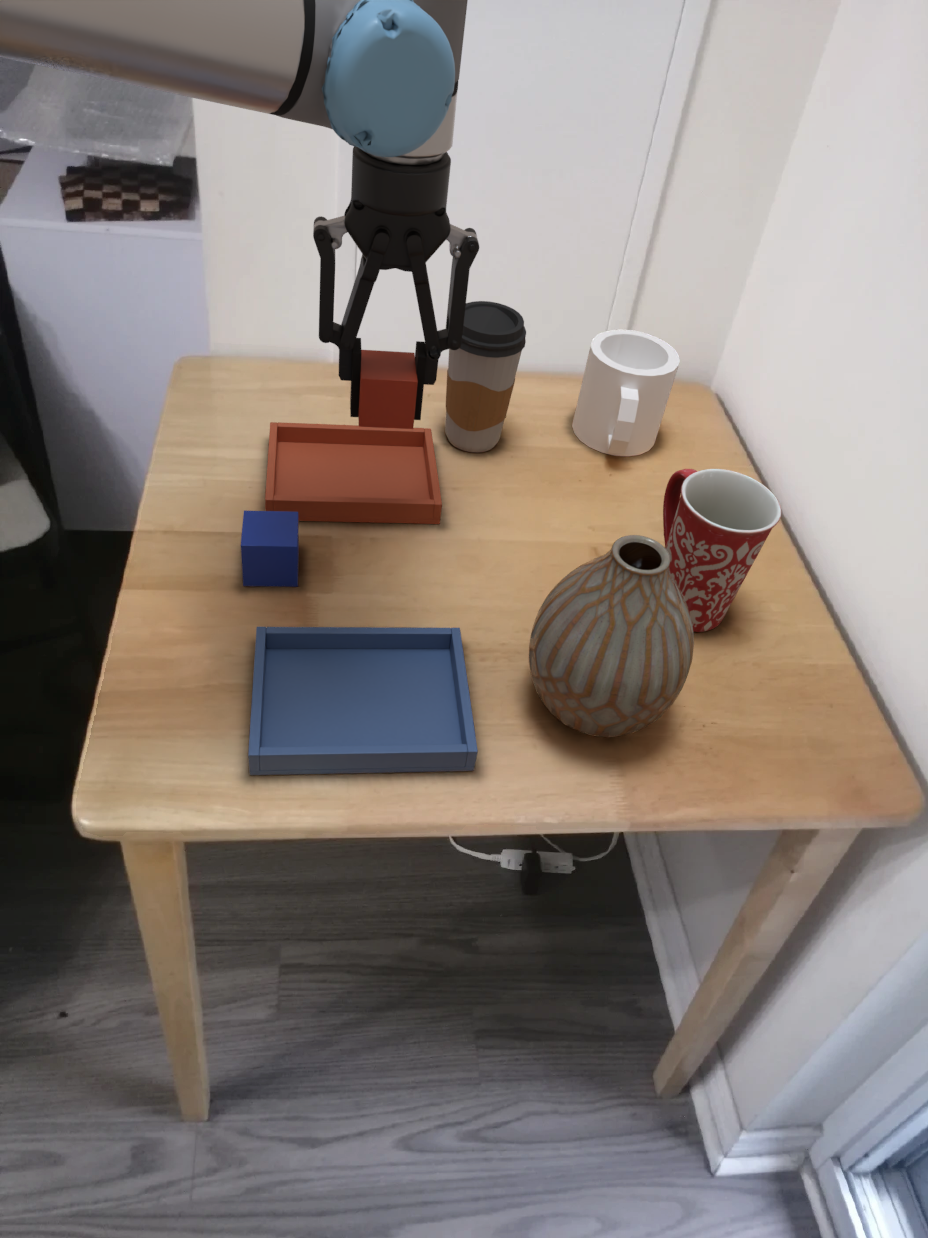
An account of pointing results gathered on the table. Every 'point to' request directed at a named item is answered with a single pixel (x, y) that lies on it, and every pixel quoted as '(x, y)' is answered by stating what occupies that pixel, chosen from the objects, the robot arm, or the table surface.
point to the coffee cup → (483, 375)
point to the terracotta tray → (353, 473)
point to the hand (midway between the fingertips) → (385, 409)
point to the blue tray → (360, 701)
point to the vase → (613, 641)
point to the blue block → (270, 548)
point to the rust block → (387, 389)
